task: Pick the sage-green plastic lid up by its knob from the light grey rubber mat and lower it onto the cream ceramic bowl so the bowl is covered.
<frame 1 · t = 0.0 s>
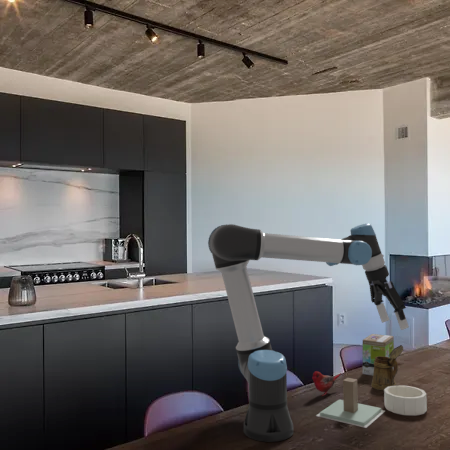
hand: (394, 324, 167), 28 cm above the table, tool tilted 20°, fingers open, 13 cm apart
lid: (350, 413, 158), resting on mat
decorative bird figurine: (327, 395, 178), on the table
mat: (350, 414, 158), on the table
wooden mug: (388, 389, 184), on the table
tea box: (378, 372, 206), on the table
bowl: (405, 409, 162), on the table
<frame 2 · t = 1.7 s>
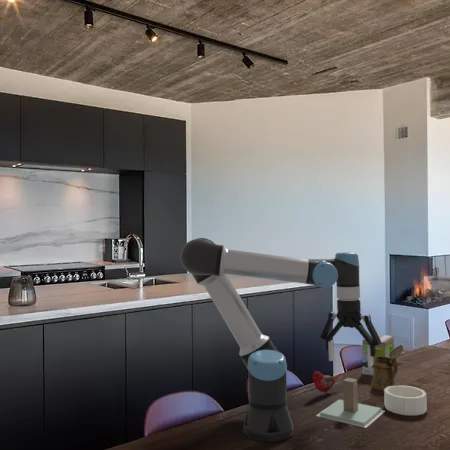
hand: (350, 363, 159), 17 cm above the table, tool pointing down, fingers open, 13 cm apart
nothing on the table moved.
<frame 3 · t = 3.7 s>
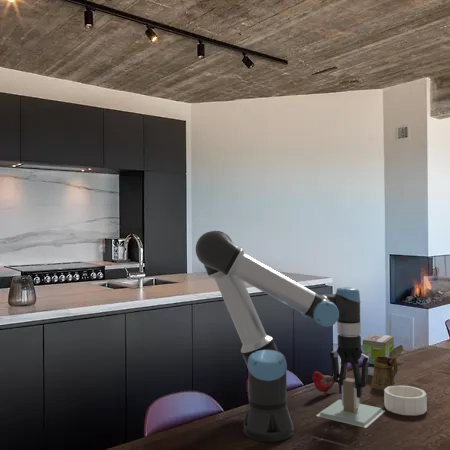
hand: (350, 405, 159), 3 cm above the table, tool pointing down, fingers closed on lid, 3 cm apart
lid: (350, 413, 158), resting on mat, touching gripper
everything else where it was.
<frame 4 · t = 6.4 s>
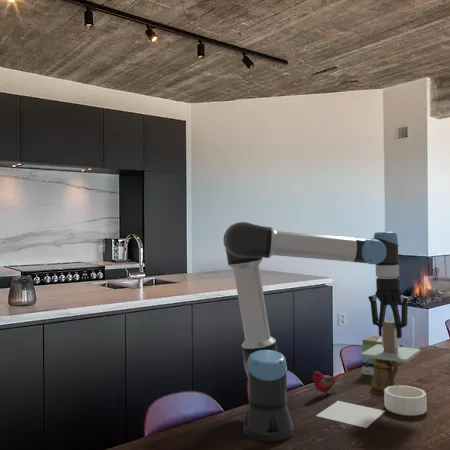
hand: (390, 346, 162), 22 cm above the table, tool pointing down, fingers closed on lid, 3 cm apart
lid: (391, 354, 162), point 19 cm above the table, touching gripper
everything else where it was.
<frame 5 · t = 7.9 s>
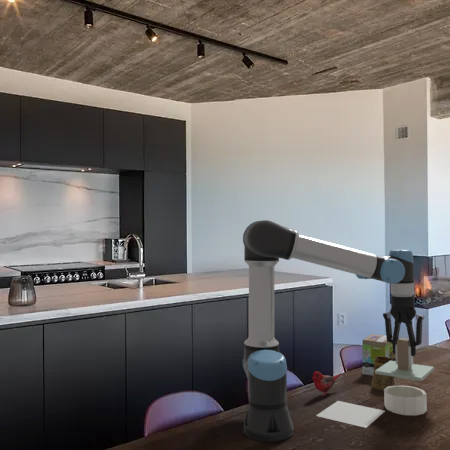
hand: (404, 364, 163), 15 cm above the table, tool pointing down, fingers closed on lid, 3 cm apart
lid: (404, 371, 163), point 13 cm above the table, touching gripper
everything else where it was.
when the fingers open (10 cm above the table, at t = 9.4 s): lid drops 2 cm, resting on bowl.
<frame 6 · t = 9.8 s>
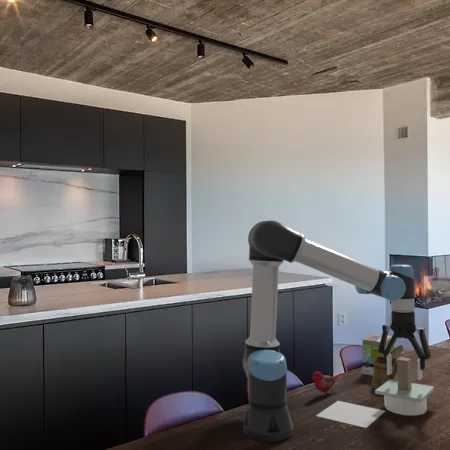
hand: (404, 376, 163), 11 cm above the table, tool pointing down, fingers open, 9 cm apart
lid: (404, 391, 162), point 6 cm above the table, touching bowl
everything else where it was.
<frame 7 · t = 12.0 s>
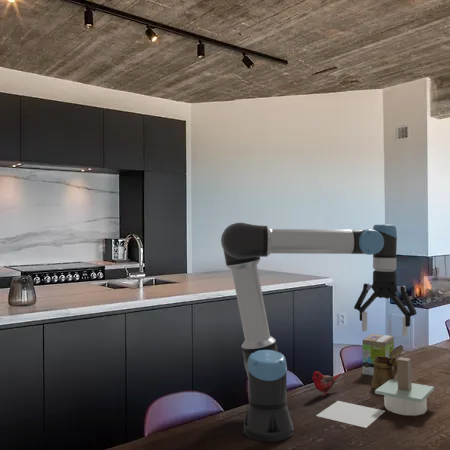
hand: (384, 333, 161), 26 cm above the table, tool pointing down, fingers open, 13 cm apart
nothing on the table moved.
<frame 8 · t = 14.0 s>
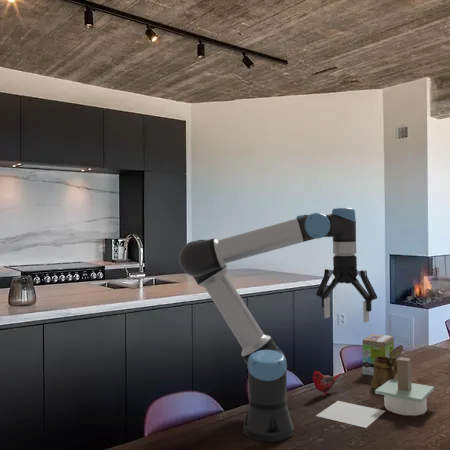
hand: (346, 319, 157), 32 cm above the table, tool pointing down, fingers open, 13 cm apart
nothing on the table moved.
at the end: lid 0.0 cm off-centre on the bowl, point 6.0 cm above the bowl's base; lid tilted 0°; the gripper is holding nothing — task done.
